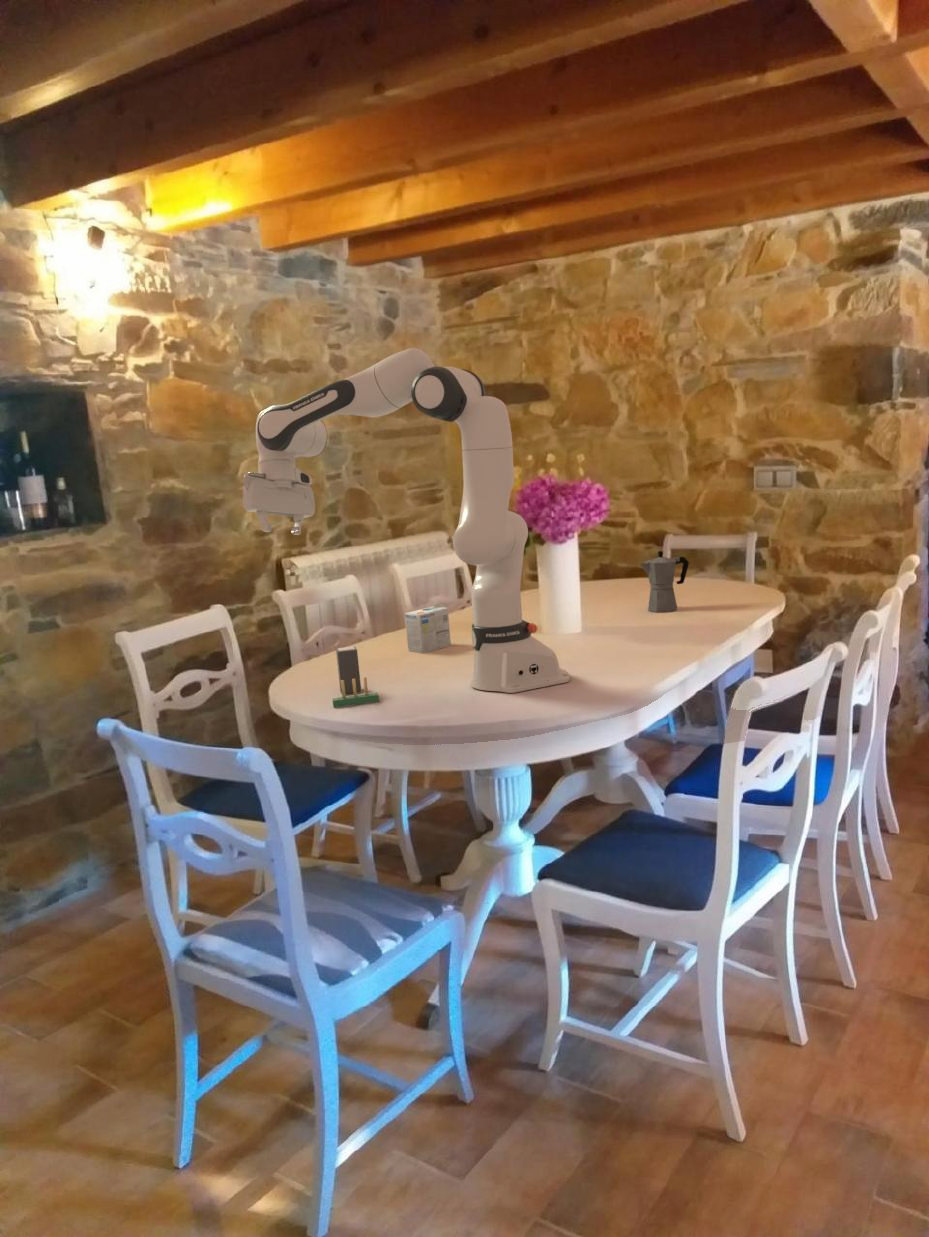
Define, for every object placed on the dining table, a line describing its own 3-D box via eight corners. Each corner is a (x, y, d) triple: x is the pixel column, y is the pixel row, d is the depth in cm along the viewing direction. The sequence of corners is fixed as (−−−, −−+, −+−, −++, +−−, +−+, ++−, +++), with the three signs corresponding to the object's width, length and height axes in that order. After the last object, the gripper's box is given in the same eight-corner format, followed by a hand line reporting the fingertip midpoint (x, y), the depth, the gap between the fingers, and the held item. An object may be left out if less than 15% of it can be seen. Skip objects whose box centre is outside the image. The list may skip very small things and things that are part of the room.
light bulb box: (435, 643, 262) (432, 605, 260) (452, 645, 257) (449, 607, 255) (406, 651, 254) (403, 612, 252) (423, 654, 250) (419, 614, 247)
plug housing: (359, 688, 219) (355, 645, 217) (361, 692, 215) (357, 649, 213) (340, 690, 218) (335, 648, 216) (341, 694, 214) (337, 651, 212)
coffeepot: (647, 614, 278) (645, 554, 275) (636, 609, 287) (634, 551, 284) (696, 609, 281) (694, 549, 277) (683, 604, 290) (681, 546, 286)
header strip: (377, 699, 208) (375, 675, 207) (379, 701, 206) (376, 677, 205) (333, 705, 206) (330, 681, 205) (333, 707, 204) (331, 683, 203)
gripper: (252, 467, 215) (257, 527, 214) (316, 478, 231) (321, 533, 230) (234, 473, 218) (239, 531, 217) (299, 483, 235) (303, 538, 234)
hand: (282, 533), depth 224 cm, fingers open, 8 cm apart
